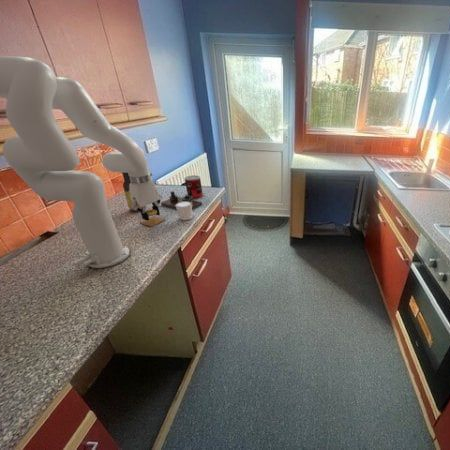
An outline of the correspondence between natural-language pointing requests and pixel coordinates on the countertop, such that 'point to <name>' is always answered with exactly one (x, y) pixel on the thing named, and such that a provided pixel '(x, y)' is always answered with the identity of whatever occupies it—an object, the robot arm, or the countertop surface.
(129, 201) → the sauce bottle
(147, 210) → the brass ring
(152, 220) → the cork mat
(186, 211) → the white short cylinder
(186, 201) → the wood ring
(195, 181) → the canned food
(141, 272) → the countertop surface
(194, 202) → the peg rack
